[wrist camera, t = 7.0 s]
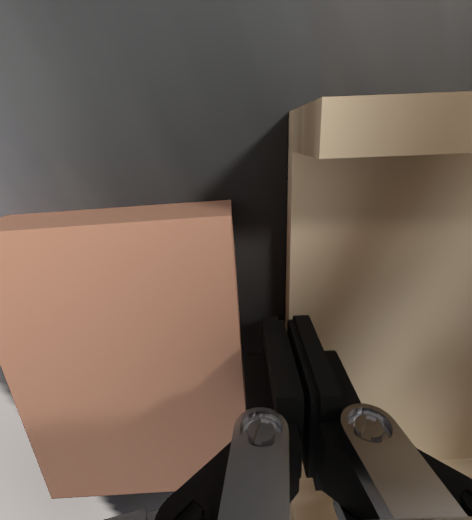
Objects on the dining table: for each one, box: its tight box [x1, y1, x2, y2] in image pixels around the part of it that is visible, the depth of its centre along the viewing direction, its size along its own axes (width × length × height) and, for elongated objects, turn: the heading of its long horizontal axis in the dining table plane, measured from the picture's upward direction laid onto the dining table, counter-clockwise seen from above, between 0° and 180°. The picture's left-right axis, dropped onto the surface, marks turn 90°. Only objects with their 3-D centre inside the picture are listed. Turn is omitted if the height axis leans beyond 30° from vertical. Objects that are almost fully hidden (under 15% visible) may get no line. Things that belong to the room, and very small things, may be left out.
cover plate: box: [0, 200, 246, 499], centre depth 13 cm, size 8×11×3 cm
